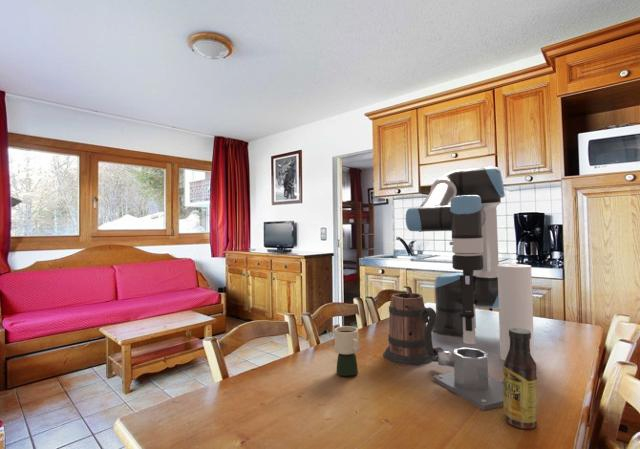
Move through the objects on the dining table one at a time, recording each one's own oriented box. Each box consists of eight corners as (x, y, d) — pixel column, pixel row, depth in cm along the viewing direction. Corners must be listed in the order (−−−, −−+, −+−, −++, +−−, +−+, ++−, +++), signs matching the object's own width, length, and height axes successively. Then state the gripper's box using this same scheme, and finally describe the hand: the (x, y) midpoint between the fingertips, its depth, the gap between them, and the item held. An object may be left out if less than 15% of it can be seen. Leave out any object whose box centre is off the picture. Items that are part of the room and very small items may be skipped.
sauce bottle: (497, 416, 77) (494, 326, 78) (524, 414, 78) (521, 324, 78) (516, 433, 71) (513, 334, 71) (545, 430, 71) (542, 333, 72)
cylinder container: (539, 365, 105) (536, 265, 105) (505, 363, 107) (502, 265, 107) (527, 354, 114) (524, 262, 115) (496, 353, 116) (493, 262, 116)
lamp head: (487, 380, 93) (486, 349, 93) (488, 393, 86) (487, 360, 86) (440, 373, 98) (439, 344, 98) (437, 385, 91) (436, 354, 91)
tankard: (372, 352, 119) (371, 293, 120) (411, 344, 127) (410, 289, 127) (419, 377, 98) (417, 306, 99) (463, 366, 105) (461, 300, 106)
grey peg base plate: (432, 379, 97) (432, 357, 97) (472, 371, 101) (471, 350, 102) (484, 410, 80) (483, 383, 80) (528, 398, 85) (527, 373, 85)
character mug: (368, 377, 99) (367, 331, 99) (347, 383, 95) (346, 335, 95) (346, 365, 108) (345, 323, 108) (327, 370, 105) (326, 326, 105)
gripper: (455, 250, 105) (457, 320, 105) (448, 259, 82) (451, 349, 82) (482, 250, 102) (485, 323, 102) (483, 259, 79) (486, 353, 79)
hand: (470, 334), depth 92 cm, fingers open, 13 cm apart
